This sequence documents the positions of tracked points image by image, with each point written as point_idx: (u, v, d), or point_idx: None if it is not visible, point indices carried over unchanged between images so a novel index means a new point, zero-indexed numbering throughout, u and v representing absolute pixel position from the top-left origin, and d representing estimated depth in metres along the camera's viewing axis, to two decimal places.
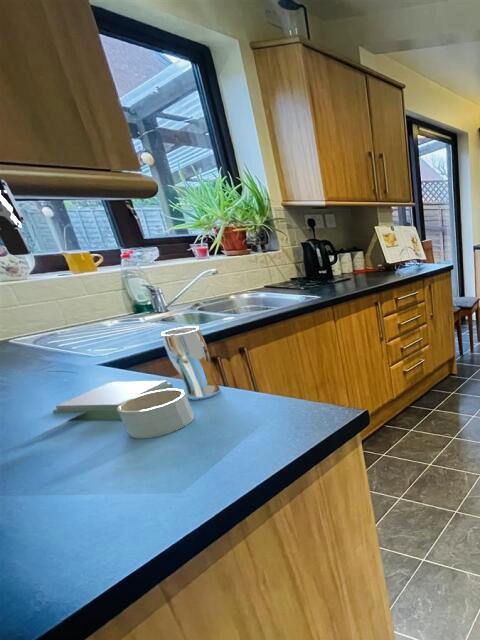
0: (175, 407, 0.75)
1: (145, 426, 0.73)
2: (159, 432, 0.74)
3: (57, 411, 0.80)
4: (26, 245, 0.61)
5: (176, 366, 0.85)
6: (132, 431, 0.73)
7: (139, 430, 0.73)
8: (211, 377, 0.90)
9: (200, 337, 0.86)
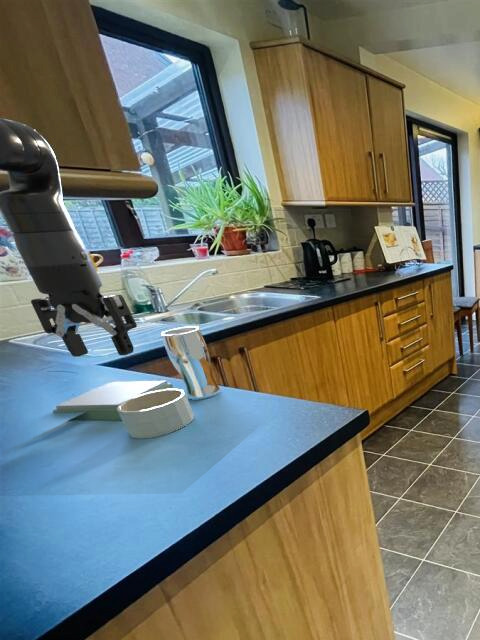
0: (175, 407, 0.75)
1: (145, 426, 0.73)
2: (159, 432, 0.74)
3: (57, 411, 0.80)
4: (84, 346, 0.72)
5: (176, 366, 0.85)
6: (132, 431, 0.73)
7: (139, 430, 0.73)
8: (211, 377, 0.90)
9: (200, 337, 0.86)
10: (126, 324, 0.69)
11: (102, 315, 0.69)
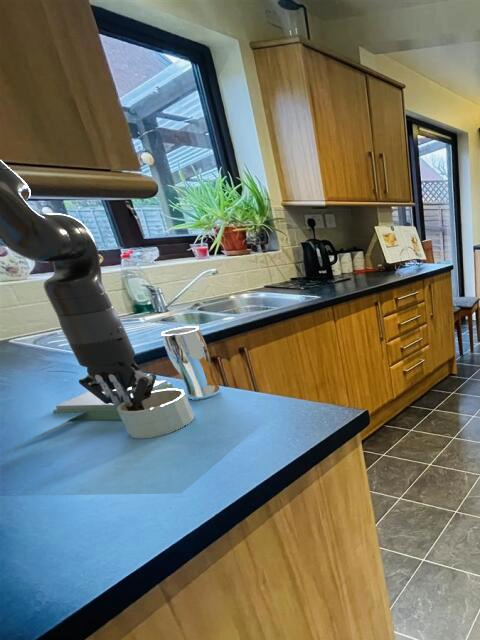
0: (175, 407, 0.75)
1: (145, 426, 0.73)
2: (159, 432, 0.74)
3: (57, 411, 0.80)
4: None
5: (176, 366, 0.85)
6: (132, 431, 0.73)
7: (139, 430, 0.73)
8: (211, 377, 0.90)
9: (200, 337, 0.86)
10: None
11: (135, 381, 0.75)
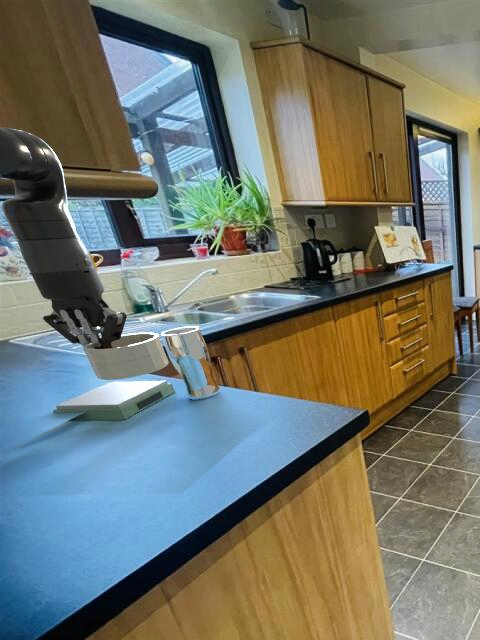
0: (146, 348, 0.71)
1: (113, 366, 0.68)
2: (128, 374, 0.70)
3: (57, 411, 0.80)
4: None
5: (176, 366, 0.85)
6: (99, 372, 0.69)
7: (106, 370, 0.68)
8: (211, 377, 0.90)
9: (200, 337, 0.86)
10: None
11: None
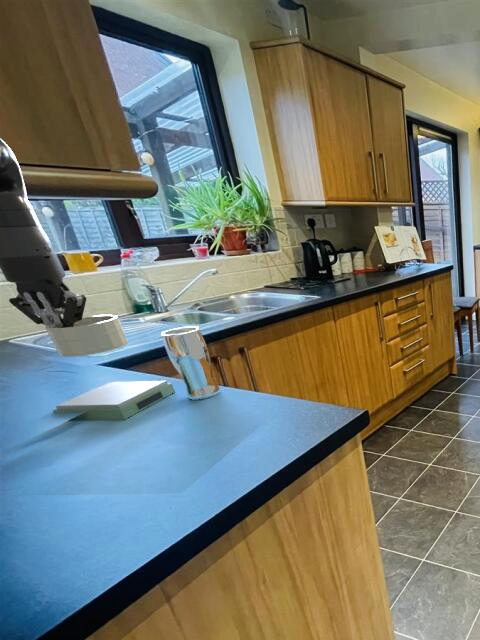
0: (104, 328, 0.77)
1: (72, 344, 0.75)
2: (87, 351, 0.76)
3: (57, 411, 0.80)
4: None
5: (176, 366, 0.85)
6: (60, 349, 0.75)
7: (67, 348, 0.75)
8: (211, 377, 0.90)
9: (200, 337, 0.86)
10: None
11: None
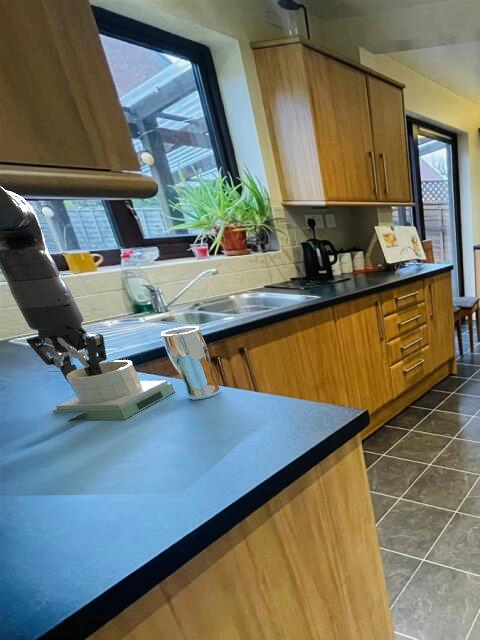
0: (121, 375, 0.83)
1: (91, 391, 0.80)
2: (105, 397, 0.81)
3: (57, 411, 0.80)
4: None
5: (176, 366, 0.85)
6: (80, 396, 0.81)
7: (86, 395, 0.80)
8: (211, 377, 0.90)
9: (200, 337, 0.86)
10: (97, 358, 0.82)
11: (83, 345, 0.82)
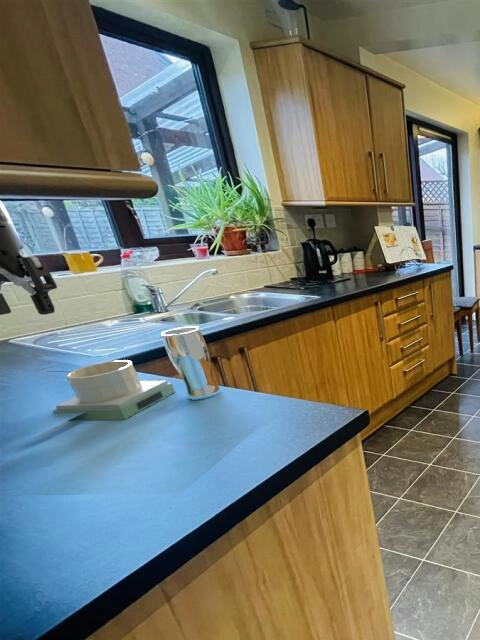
0: (121, 375, 0.83)
1: (91, 391, 0.80)
2: (105, 397, 0.81)
3: (57, 411, 0.80)
4: (7, 306, 0.77)
5: (176, 366, 0.85)
6: (80, 396, 0.81)
7: (86, 395, 0.80)
8: (211, 377, 0.90)
9: (200, 337, 0.86)
10: (45, 284, 0.73)
11: (23, 275, 0.73)
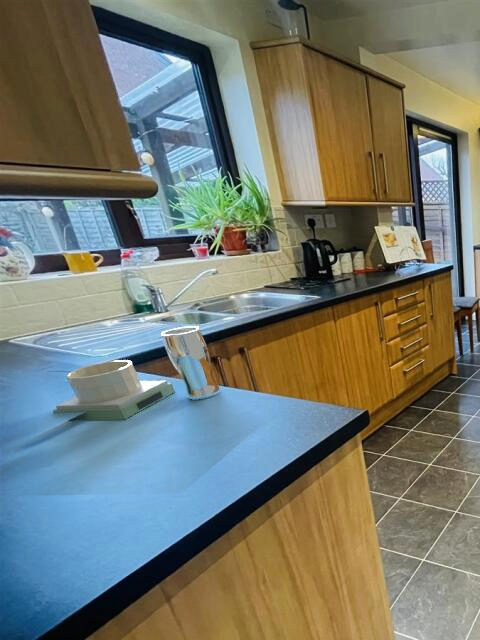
0: (121, 375, 0.83)
1: (91, 391, 0.80)
2: (105, 397, 0.81)
3: (57, 411, 0.80)
4: None
5: (176, 366, 0.85)
6: (80, 396, 0.81)
7: (86, 395, 0.80)
8: (211, 377, 0.90)
9: (200, 337, 0.86)
10: None
11: None
